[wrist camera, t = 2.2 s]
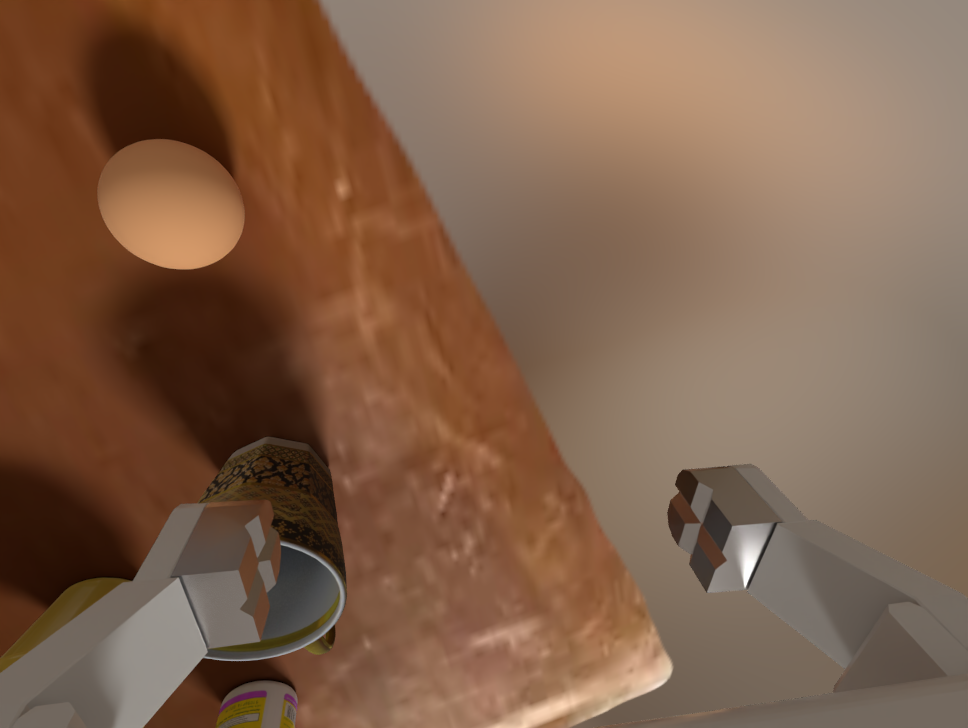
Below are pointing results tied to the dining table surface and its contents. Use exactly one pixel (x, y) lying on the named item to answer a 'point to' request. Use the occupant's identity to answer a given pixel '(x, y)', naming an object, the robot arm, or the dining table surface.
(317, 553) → the ceramic cup
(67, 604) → the plant pot
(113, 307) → the dining table surface
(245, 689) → the supplement bottle
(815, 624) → the robot arm
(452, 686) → the dining table surface
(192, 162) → the ball
